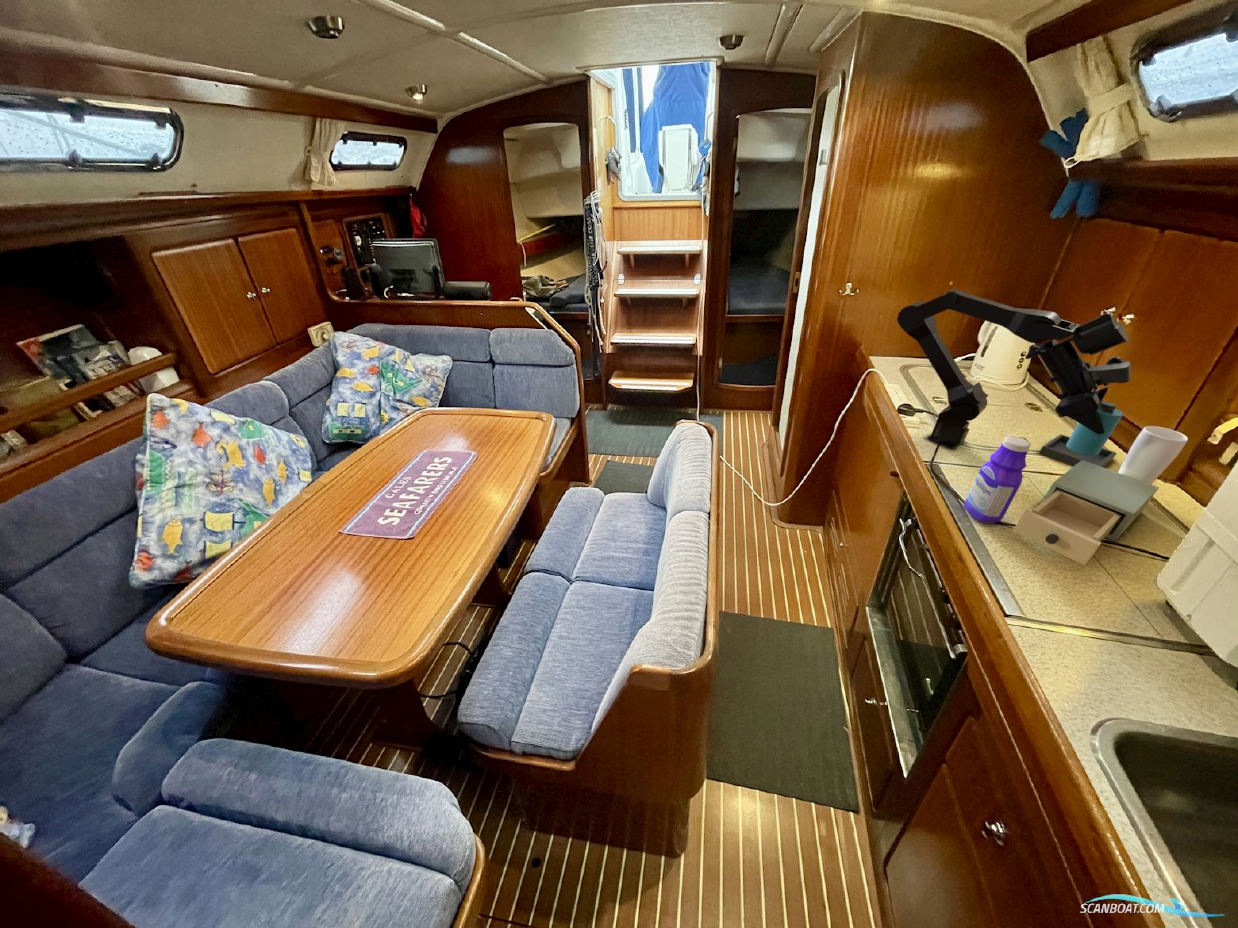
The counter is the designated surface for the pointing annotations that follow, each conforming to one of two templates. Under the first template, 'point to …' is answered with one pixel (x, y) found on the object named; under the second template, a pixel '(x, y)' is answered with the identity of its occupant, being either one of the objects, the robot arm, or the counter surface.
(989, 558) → the counter surface
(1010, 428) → the counter surface
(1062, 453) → the tray
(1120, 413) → the soap bottle
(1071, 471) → the cabinet
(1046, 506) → the drawer
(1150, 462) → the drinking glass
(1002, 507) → the bottle
